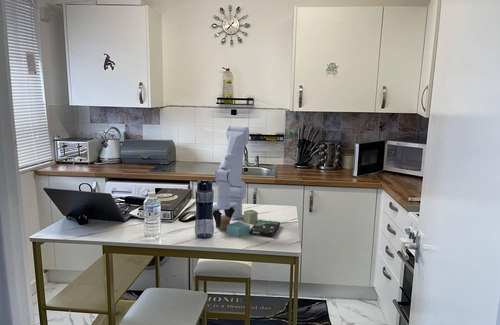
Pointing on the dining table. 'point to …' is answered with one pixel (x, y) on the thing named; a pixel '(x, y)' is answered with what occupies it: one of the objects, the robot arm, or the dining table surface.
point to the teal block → (238, 229)
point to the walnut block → (223, 223)
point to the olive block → (250, 216)
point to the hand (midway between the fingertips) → (222, 225)
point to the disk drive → (265, 228)
